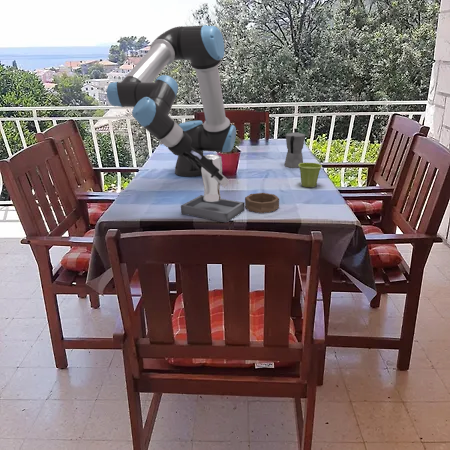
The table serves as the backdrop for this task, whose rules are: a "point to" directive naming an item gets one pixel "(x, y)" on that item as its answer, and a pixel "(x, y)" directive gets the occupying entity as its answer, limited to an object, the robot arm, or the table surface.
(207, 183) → the beer glass
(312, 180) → the plant pot
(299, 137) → the coffeepot
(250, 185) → the table surface
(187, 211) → the tray
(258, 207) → the ring holder
